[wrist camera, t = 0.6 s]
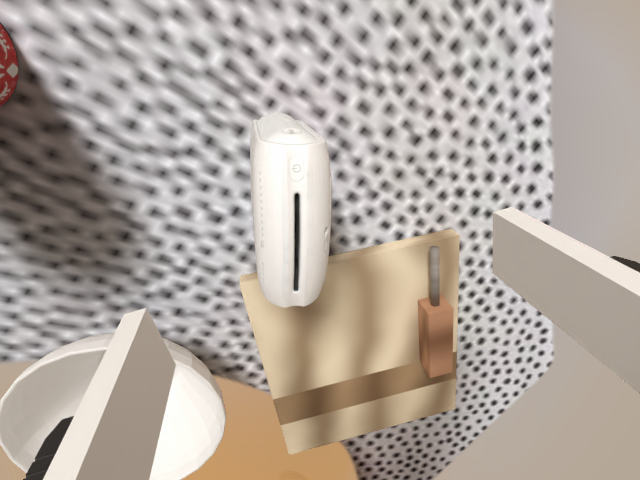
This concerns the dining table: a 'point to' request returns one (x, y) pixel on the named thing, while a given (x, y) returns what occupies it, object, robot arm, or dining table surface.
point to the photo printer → (290, 209)
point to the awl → (435, 325)
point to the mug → (7, 67)
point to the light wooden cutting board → (356, 343)
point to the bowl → (71, 385)
